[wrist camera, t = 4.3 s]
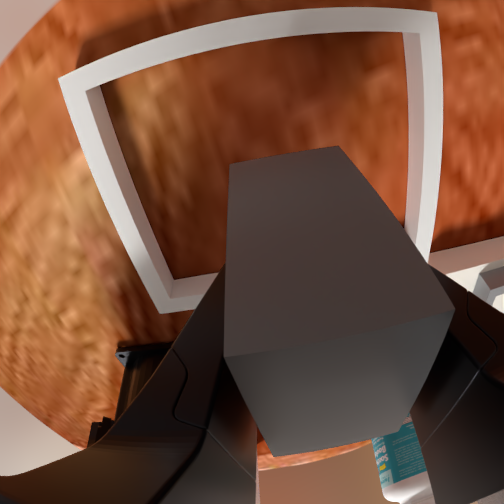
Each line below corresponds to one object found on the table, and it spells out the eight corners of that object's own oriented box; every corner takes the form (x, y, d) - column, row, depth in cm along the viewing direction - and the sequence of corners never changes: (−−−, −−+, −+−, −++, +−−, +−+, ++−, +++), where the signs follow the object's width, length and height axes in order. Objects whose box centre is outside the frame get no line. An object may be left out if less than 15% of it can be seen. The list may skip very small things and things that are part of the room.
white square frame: (163, 295, 18) (159, 314, 17) (74, 73, 11) (58, 78, 9) (416, 249, 17) (427, 265, 16) (418, 12, 9) (436, 12, 8)
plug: (258, 285, 11) (273, 456, 6) (229, 164, 9) (224, 357, 4) (344, 270, 11) (398, 431, 6) (338, 145, 8) (455, 308, 4)
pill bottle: (360, 409, 30) (384, 524, 19) (424, 383, 28) (460, 496, 17) (371, 426, 34) (392, 521, 23) (426, 404, 32) (454, 498, 22)
